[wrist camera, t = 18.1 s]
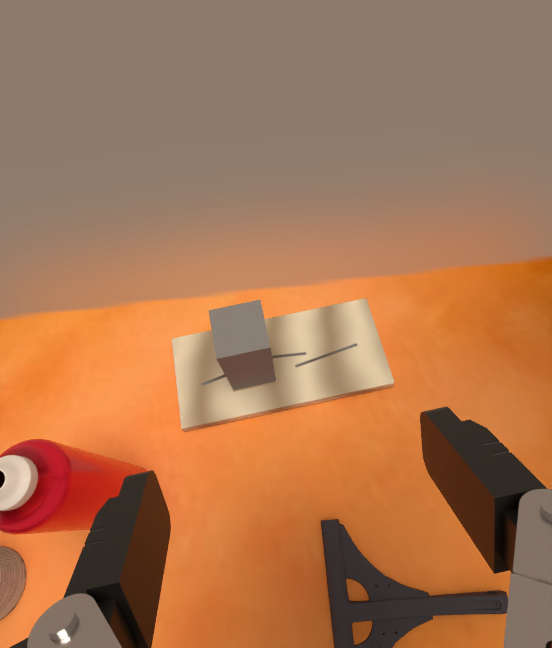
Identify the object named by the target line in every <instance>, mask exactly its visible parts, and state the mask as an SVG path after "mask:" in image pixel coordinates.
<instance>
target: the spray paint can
mask: <svg viewBox="0 0 552 648" xmlns="http://www.w3.org/2000/svg"><path fill="white" fill-rule="evenodd" d="M25 583H26V568H25V564H24V561H23V559H22V558H21V556H20V555H19V554H18V553H17V552H16V551H15V550H13V549H11V548H7V547H2V546H0V620H1V619H2V618H4V617H5V616H6V615H7V614H9V613H10V612H11V611H12V610H13V608H14V607H15V606H16V604H17V603H18V601H19V600H20V598H21V596H22V593H23V591H24V587H25Z"/></svg>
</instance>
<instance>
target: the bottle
mask: <svg viewBox="0 0 552 648" xmlns="http://www.w3.org/2000/svg"><path fill="white" fill-rule="evenodd" d="M142 472H147V470H146V469H144V468H141V467H138V466H135V465H131V464H128V463H125V462H121V461H118V460H114V459H111V458H108V457H104V456H101V455H97V454H94V453H91V452H87V451H84V450H80V449H77V448H73V447H70V446H67V445H63V444H60V443H56V442H53V441H50V440H44V439H31V440H27V441H23V442H20V443H18V444H16V445H14V446H12V447H10V448H9V449H7V450H6V451H5V452H3V453H2V454H1V455H0V531H2V532H5V533H9V534H30V533H44V532H58V531H72V530H85V529H91V526H92V524H93V521H94V519H95V516H96V514H97V513H98V511H99V510H100V509H101V508H102V506H103V505H104V504H105V503H106V502H107V500H108V499H109V498H113V497H117V496H118V495H119V492H120V489H121V486H122V484H123V481H124V478H125V477H126V476H128V475H133V474H138V473H142Z"/></svg>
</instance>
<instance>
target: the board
mask: <svg viewBox="0 0 552 648" xmlns="http://www.w3.org/2000/svg"><path fill="white" fill-rule="evenodd" d="M264 320H265V324H266V329H267V334H268V338H269V343H270V347H271V353H272V359H273V364H274V369H275V374H276V379H277V383H273V384H268V385H263V386H259V387H254V388H250V389H245V390H240V391H236V392H233V389H232V387H231V385H230V383H229V381H228V379H227V378H226V376H225V374H224V372H223V370H222V368H221V367H220V365H219V363H218V361H217V359H216V353H215V347H214V341H213V334H212V330H211V331H206V332H201V333H197V334H192V335H187V336H182V337H177V338H173V339H172V345H173V355H174V364H175V373H176V383H177V392H178V401H179V410H180V420H181V429H182V430H184V431H185V432H186V431H191V430H195V429H200V428H204V427H209V426H214V425H218V424H223V423H228V422H232V421H237V420H241V419H246V418H251V417H255V416H260V415H264V414H269V413H274V412H278V411H283V410H288V409H292V408H297V407H301V406H306V405H311V404H315V403H320V402H324V401H329V400H334V399H338V398H343V397H348V396H352V395H357V394H361V393H366V392H371V391H375V390H380V389H385V388H389V387H392V386H393V385H394V383H395V382H394V379H393V376H392V373H391V370H390V367H389V364H388V361H387V358H386V355H385V352H384V349H383V346H382V343H381V340H380V338H379V335H378V332H377V329H376V326H375V323H374V320H373V317H372V314H371V311H370V308H369V305H368V302H367V299H366V298H365V299H360V300H355V301H350V302H345V303H341V304H336V305H331V306H326V307H321V308H317V309H312V310H307V311H302V312H297V313H293V314H288V315H283V316H278V317H273V318H269V319H264Z"/></svg>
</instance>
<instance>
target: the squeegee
mask: <svg viewBox="0 0 552 648" xmlns="http://www.w3.org/2000/svg"><path fill="white" fill-rule="evenodd" d="M321 525H322V535H323V544H324V553H325V563H326V572H327V581H328V591H329V600H330V609H331V618H332V628H333V637H334V646H335V648H392V647H393V646H394V644H395V643H396V642H397V641H398V640H399V639H400V638H401V637H403V636H404V635H405V634H406V633H408V632H409V631H410V630H412V629H413V628H415V627H417V626H419V625H421V624H423V623H425V622H427V621H429V620H431V619H433V616H435V615H464V614H505V613H507V609H508V597H507V593H506V592H505V591H486V592H472V593H460V594H447V595H434V596H429V594H428V593H427V592H424V591H421V590H417V589H413V588H410V587H407V586H405V585H402V584H400V583H398V582H396V581H394V580H392V579H390V578H388V577H386V576H385V575H383V574H382V573H381V572H380V571H379V570H377V569H376V568H375V567H374V566H373V565H372V564H371V563H370V562H369V561H368V560H367V559H366V558H365V557H364V556H363V555H362V554H361V552H360V551H359V550H358V549H357V547H356V546H355V544H354V543H353V541H352V540H351V538H350V536H349V535H348V533H347V531H346V529H345V527H344V526H343V525H342V524H339V520H338V519H336V520H321ZM347 578H350V579H354V580H356V581H358V582H360V583H361V584H362V585H363V586H364V587H365V589H366V590H367V592H368V594H369V599H370V600H369V601H350V600H349V598H348V592H347V584H346V579H347ZM387 584H389V586H387ZM375 585H377V586H375ZM369 620H373V626H372V630H371V633H370V635H369V637H368V638H367V639H366V640H365V641H364V642H362V643H360V644H358V645H354V641H353V633H352V623H353V622H360V621H369ZM395 631H396V632H397V633H395ZM383 632H384V634H382V633H383Z"/></svg>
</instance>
